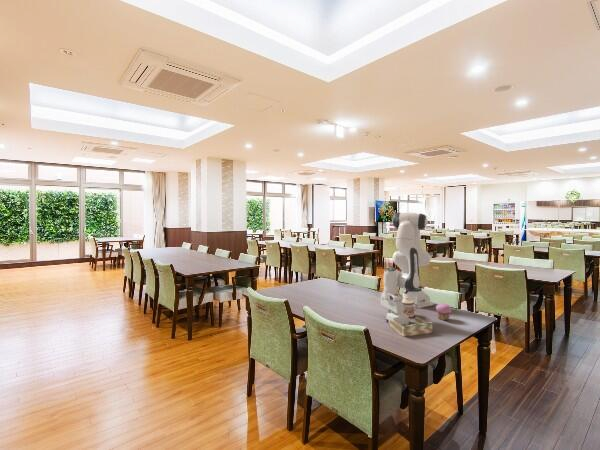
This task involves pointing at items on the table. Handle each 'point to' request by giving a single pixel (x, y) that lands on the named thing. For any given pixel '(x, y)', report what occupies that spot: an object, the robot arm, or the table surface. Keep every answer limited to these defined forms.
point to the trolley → (397, 318)
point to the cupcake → (443, 311)
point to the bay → (412, 327)
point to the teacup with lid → (408, 307)
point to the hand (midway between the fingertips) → (391, 316)
